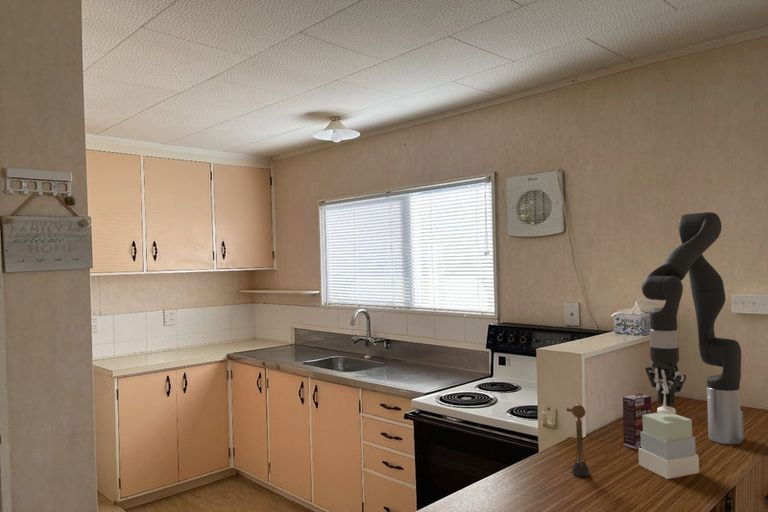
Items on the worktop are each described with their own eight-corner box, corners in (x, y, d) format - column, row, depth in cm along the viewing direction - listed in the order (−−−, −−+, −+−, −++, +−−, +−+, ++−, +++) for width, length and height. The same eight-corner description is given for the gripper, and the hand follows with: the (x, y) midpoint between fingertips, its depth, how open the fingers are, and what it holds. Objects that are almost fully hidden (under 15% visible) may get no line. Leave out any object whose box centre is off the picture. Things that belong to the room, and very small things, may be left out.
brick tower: (669, 459, 171) (667, 409, 171) (699, 472, 160) (697, 420, 160) (638, 464, 168) (637, 414, 168) (667, 478, 157) (665, 425, 157)
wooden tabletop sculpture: (565, 472, 164) (563, 404, 164) (573, 468, 167) (571, 400, 167) (584, 478, 160) (582, 407, 160) (592, 473, 163) (590, 404, 163)
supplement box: (636, 449, 180) (634, 400, 180) (623, 445, 184) (621, 396, 184) (653, 444, 184) (652, 395, 184) (640, 440, 188) (638, 392, 188)
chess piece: (653, 409, 166) (652, 375, 166) (669, 408, 166) (668, 374, 166) (663, 414, 161) (661, 379, 161) (679, 413, 162) (678, 378, 161)
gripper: (694, 347, 158) (696, 409, 158) (656, 340, 171) (658, 397, 172) (672, 350, 156) (674, 412, 156) (636, 342, 169) (638, 400, 169)
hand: (666, 404), depth 164 cm, fingers closed on chess piece
